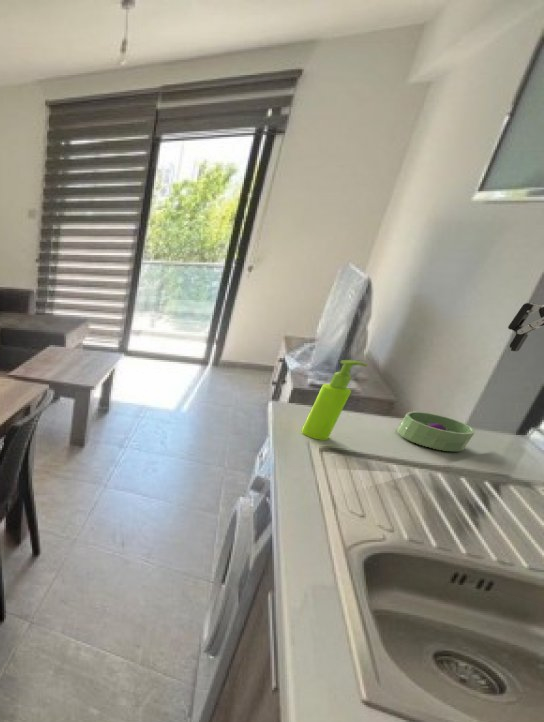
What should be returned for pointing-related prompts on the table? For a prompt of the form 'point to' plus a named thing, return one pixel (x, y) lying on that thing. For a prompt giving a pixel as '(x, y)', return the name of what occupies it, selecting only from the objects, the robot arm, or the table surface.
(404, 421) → the bowl
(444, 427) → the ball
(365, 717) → the table surface
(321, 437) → the soap dispenser
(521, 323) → the robot arm
